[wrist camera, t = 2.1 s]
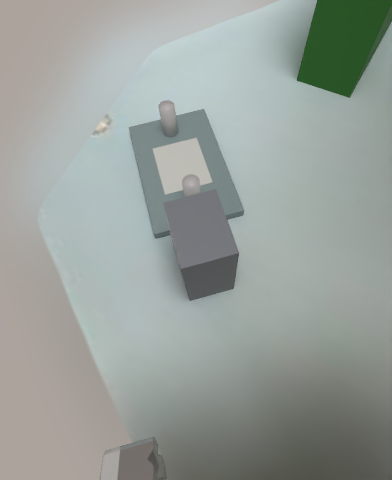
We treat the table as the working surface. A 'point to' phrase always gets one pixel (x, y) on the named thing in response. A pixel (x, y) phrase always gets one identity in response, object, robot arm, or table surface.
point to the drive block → (202, 243)
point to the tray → (180, 163)
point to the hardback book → (343, 42)
